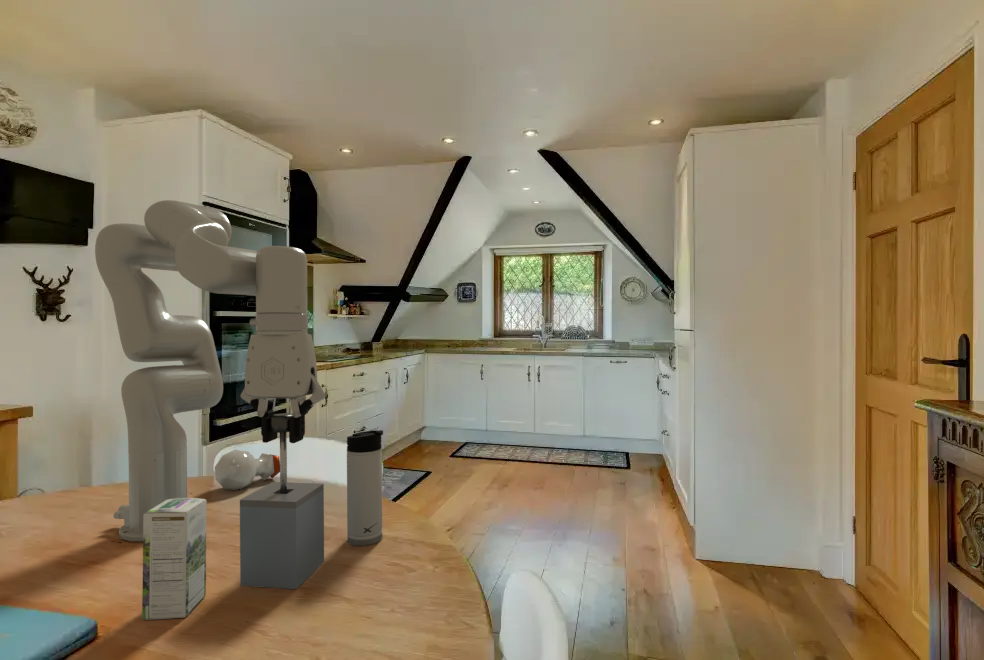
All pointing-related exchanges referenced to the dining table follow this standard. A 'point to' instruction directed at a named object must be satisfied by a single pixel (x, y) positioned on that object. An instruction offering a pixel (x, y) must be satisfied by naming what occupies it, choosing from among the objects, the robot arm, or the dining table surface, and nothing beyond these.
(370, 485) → the travel mug
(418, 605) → the dining table surface
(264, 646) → the dining table surface
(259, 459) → the potion bottle
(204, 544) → the syrup box
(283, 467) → the plunger
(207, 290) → the robot arm
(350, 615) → the dining table surface
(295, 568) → the grey box with hole
